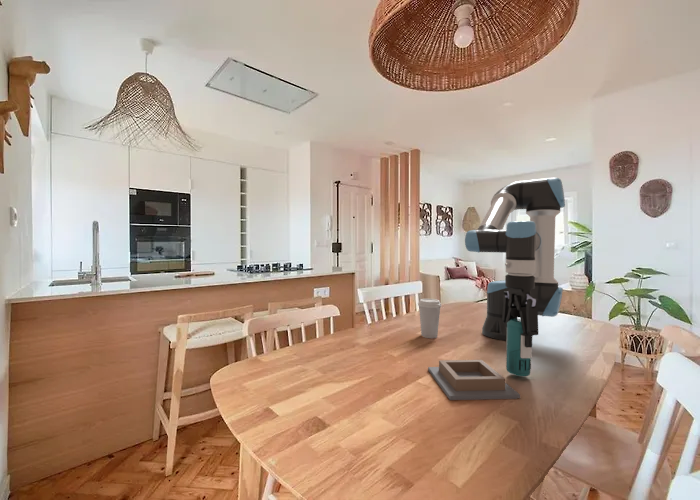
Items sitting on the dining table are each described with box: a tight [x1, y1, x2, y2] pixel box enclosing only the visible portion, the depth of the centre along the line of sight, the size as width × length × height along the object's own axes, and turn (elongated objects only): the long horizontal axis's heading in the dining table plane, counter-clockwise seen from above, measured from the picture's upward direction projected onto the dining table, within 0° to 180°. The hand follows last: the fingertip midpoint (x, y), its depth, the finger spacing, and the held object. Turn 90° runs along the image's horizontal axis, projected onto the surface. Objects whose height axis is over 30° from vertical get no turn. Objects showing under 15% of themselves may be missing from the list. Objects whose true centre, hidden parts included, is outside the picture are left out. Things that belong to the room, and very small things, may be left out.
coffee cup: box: [417, 298, 442, 339], centre depth 130 cm, size 10×10×15 cm
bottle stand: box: [427, 359, 521, 401], centre depth 87 cm, size 18×18×4 cm
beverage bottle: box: [505, 308, 532, 377], centre depth 91 cm, size 6×7×20 cm
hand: (518, 353), depth 91 cm, fingers closed on beverage bottle, 6 cm apart
